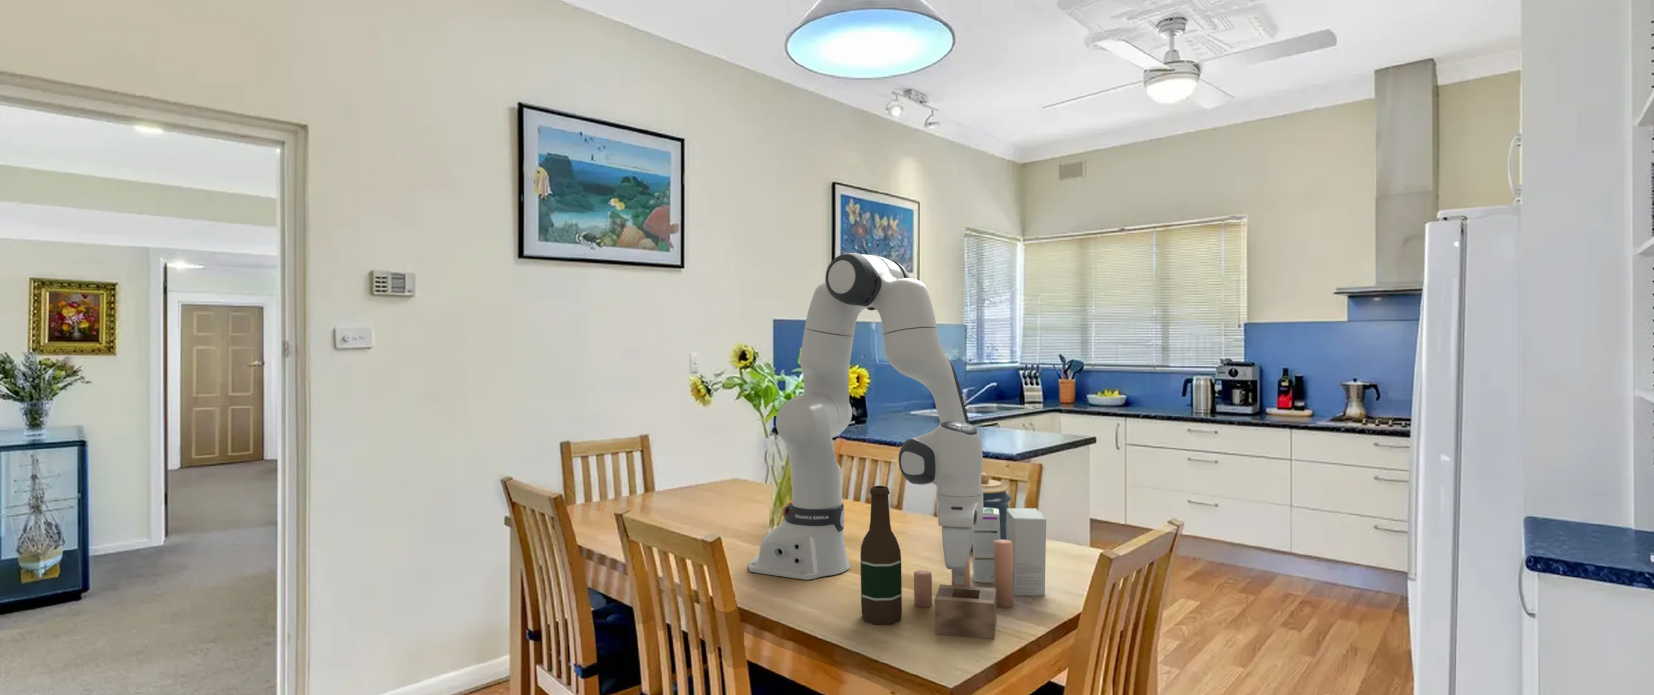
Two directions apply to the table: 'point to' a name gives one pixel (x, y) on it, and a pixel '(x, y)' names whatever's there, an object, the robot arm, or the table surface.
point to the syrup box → (985, 545)
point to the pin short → (922, 588)
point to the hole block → (965, 611)
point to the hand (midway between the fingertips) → (960, 579)
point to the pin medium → (966, 575)
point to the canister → (996, 500)
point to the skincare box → (1027, 550)
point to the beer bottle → (880, 565)
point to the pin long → (1003, 573)
